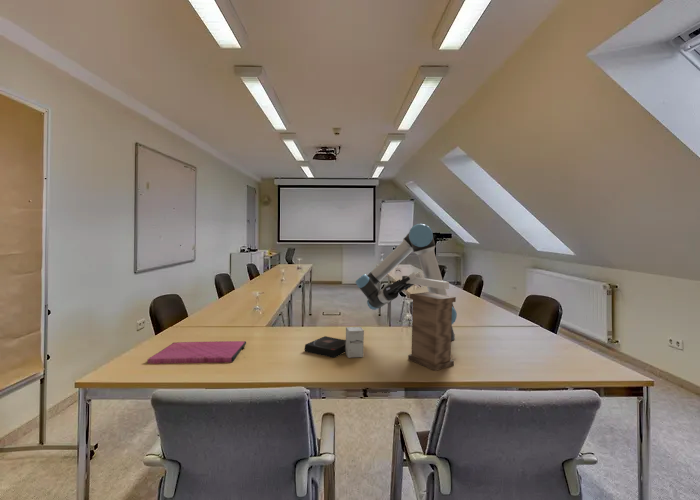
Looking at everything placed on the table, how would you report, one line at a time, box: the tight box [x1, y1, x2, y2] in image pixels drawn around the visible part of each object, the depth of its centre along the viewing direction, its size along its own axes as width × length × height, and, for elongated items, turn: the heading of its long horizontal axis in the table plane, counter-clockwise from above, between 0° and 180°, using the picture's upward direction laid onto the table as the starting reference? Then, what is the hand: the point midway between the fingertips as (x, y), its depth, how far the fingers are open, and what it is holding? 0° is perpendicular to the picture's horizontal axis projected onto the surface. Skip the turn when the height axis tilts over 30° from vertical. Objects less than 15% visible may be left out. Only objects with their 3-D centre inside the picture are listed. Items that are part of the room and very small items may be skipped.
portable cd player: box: [304, 335, 346, 359], centre depth 172 cm, size 16×17×4 cm
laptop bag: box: [147, 340, 247, 364], centre depth 165 cm, size 40×4×27 cm
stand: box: [407, 291, 457, 372], centre depth 157 cm, size 12×16×30 cm
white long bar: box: [401, 275, 450, 290], centre depth 160 cm, size 3×26×3 cm, turn 35°
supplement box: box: [345, 326, 365, 358], centre depth 165 cm, size 7×7×13 cm
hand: (417, 275), depth 163 cm, fingers closed on white long bar, 3 cm apart
